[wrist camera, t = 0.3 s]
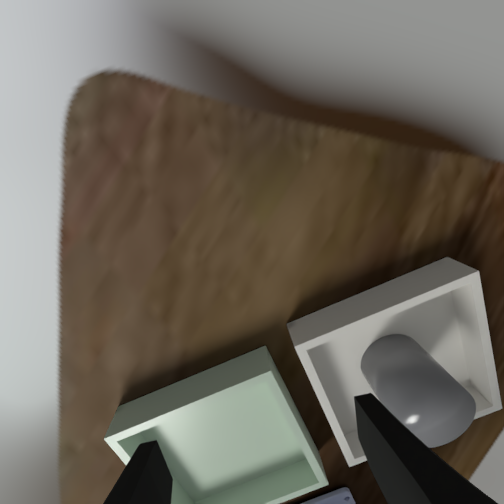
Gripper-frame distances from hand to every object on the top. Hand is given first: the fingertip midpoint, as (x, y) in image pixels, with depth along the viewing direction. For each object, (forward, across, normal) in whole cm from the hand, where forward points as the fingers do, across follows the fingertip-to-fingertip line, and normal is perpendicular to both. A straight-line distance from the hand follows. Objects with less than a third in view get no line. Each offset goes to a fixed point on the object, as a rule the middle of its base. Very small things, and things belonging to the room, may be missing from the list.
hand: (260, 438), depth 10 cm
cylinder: (+9, -10, +7) cm, 15 cm away
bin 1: (+10, +4, +11) cm, 15 cm away
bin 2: (+10, -10, +7) cm, 15 cm away
